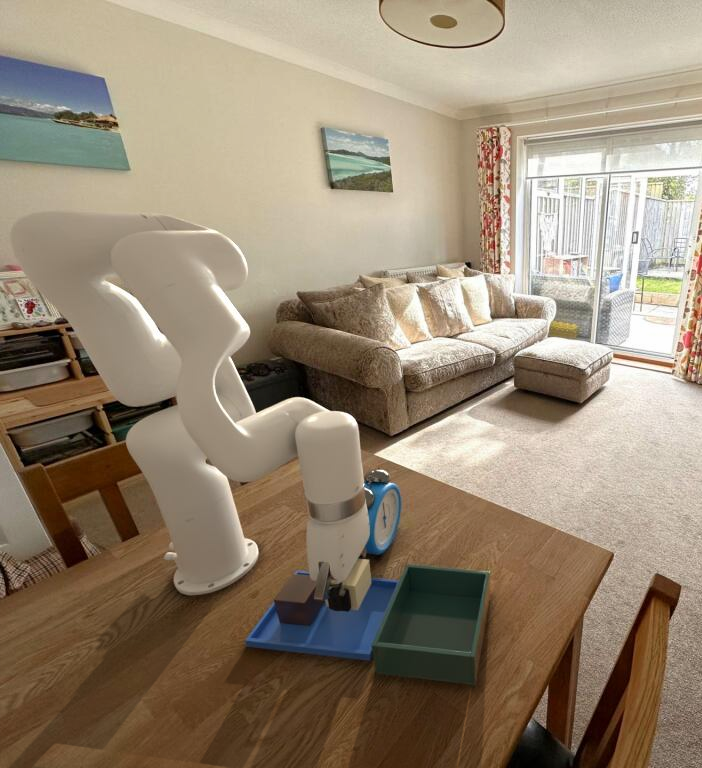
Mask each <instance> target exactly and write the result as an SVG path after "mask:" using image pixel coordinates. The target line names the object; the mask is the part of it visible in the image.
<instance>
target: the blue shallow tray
mask: <svg viewBox="0 0 702 768" xmlns="http://www.w3.org/2000/svg"><path fill="white" fill-rule="evenodd" d="M294 574H299V575H309V571H308V570H307V571H305V570H296V571H295V572H294ZM309 576H310V575H309ZM398 583H399V580H397V579H388V578H378V577H377V578H376V577H371V585H370V587H369V589H368V591H367V593H366V595H365V597H364V599H363V601H362V603H361V605H360V607H359V609H358V610H351V609H350V611H349V612H345V611H334V610H331V609H329V607H328V606H326V602H324V604H323V605H322V607H321V609H320V610H319V612H318V614H317V615H316V617H315V619H314V620H313V622H312V624H311V625H310V626H303V625H294V624H284V623H280V622H279V619H278V615H277V611H276V607H275V604H274V601H273V602H272V603H271V605H269V607H268V608H267V610H266V611H265V613H263V615H262V616H261V618H260V619H259V620H258V622H257V624H256V625H254V626H255V627H253V629H252V631H251V632H250V633H249V635H248V636H247V637H246V638H245V639H244V642H245V645H246V647H248V648H256V649H265V650H274V651H283V652H292V653H301V654H310V655H317V656H325V657H336V658H344V659H353V660H363V661H368V662H369V661H372V658H373V652H372V643H373V641H374V639H375V636H376V634H377V632H378V629H379V627H380V625H381V622H382V620H383V618H384V615H385V613H386V611H387V608H388V606H389V604H390V601H391V599H392V597H393V594H394V592H395V590H396V587H397V585H398Z"/></svg>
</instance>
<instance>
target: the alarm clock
mask: <svg viewBox="0 0 702 768" xmlns="http://www.w3.org/2000/svg"><path fill="white" fill-rule="evenodd" d="M363 478H364V488H365V498H366V506H367V511H368V517H369V526H370V535H369V539H368V541H367V543H366V545H365V548H366V550H367V554H368V555H376V556H377V557H380V556H381V555H382V554H384V553H385V552H387V550H388V549H389V548H390V546H391V545H392V543H393V541H394V539H395V537H396V534H397V531H398V527H399V524H400V519H401V514H402V494H401V491H400V488H399V486H398V485H397V484H396V483H394V482H391V480H392V479H391V474H390V473H389V472H388V471H386V470H385V469H382V468H381V467H377V468H373V469H371V470H369V471H367V472H366V474H365V475H364V476H363Z"/></svg>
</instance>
